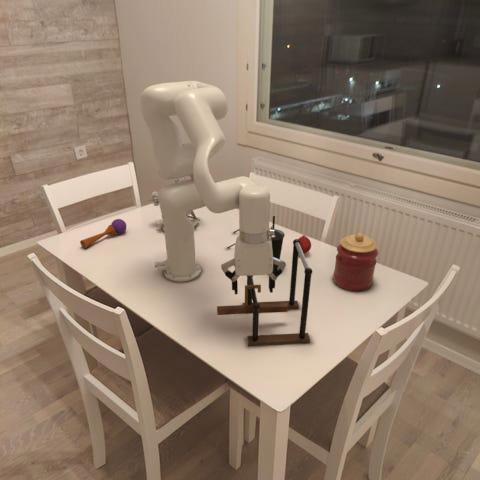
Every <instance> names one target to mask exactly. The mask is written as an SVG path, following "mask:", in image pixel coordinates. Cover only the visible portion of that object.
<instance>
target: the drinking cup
mask: <svg viewBox="0 0 480 480" xmlns="http://www.w3.org/2000/svg"><path fill="white" fill-rule="evenodd" d="M275 223H276V216H275V215H273V216H272V226H271V227H272V229H271V228H270V229H271V230H273V229H274V231H275V234H274V235H270V237H271V241H272V250H273V257H274V258H277V259H279V260H281V255H282V248H283V242H284V237H285V236H286V235H285V232H284V231H283V230H281V229H276V228H275V226H276V224H275ZM278 267H279V266H278V265H276V264H274V263H273V271H275V270H276V269H277V268H278Z"/></svg>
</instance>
